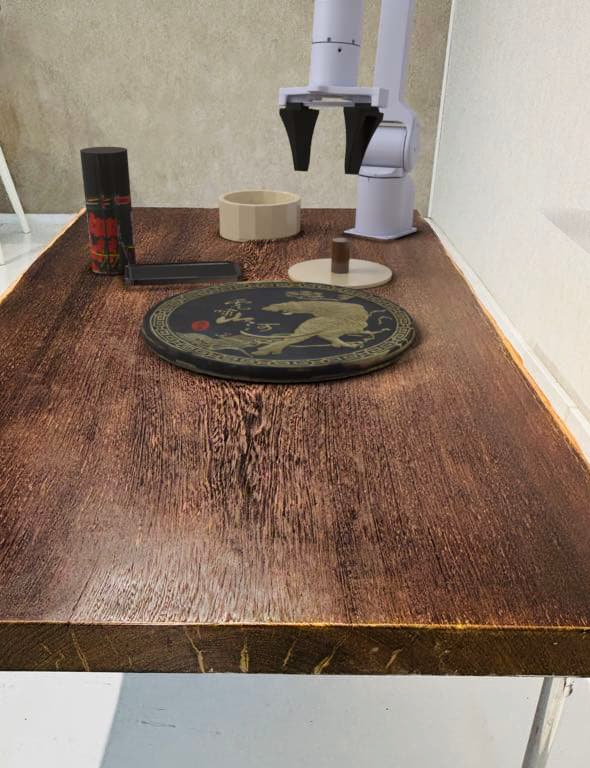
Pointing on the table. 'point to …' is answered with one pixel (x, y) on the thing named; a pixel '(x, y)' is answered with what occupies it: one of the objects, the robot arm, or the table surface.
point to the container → (258, 214)
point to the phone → (182, 273)
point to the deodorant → (108, 208)
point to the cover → (341, 269)
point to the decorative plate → (278, 331)
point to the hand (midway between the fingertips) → (325, 172)
